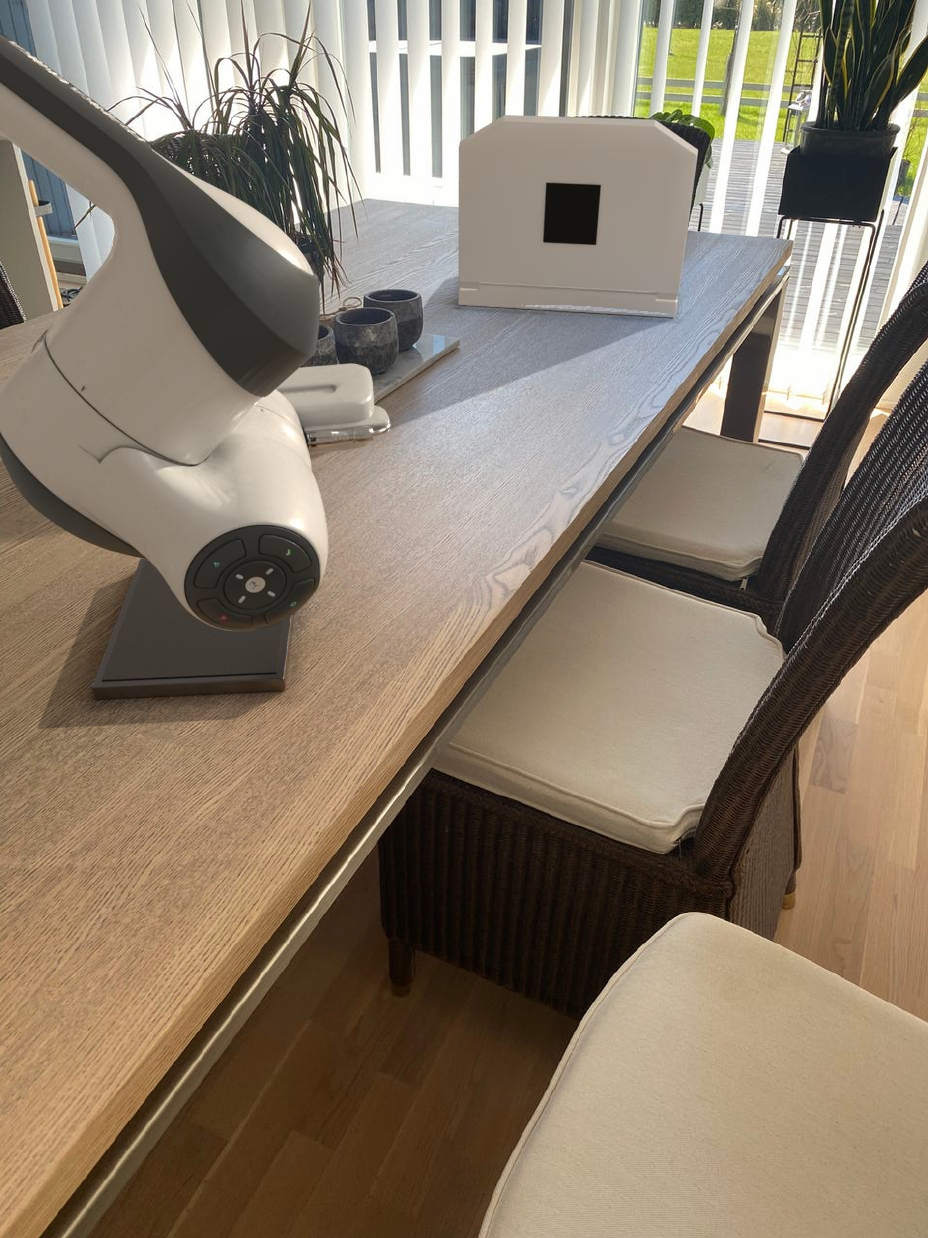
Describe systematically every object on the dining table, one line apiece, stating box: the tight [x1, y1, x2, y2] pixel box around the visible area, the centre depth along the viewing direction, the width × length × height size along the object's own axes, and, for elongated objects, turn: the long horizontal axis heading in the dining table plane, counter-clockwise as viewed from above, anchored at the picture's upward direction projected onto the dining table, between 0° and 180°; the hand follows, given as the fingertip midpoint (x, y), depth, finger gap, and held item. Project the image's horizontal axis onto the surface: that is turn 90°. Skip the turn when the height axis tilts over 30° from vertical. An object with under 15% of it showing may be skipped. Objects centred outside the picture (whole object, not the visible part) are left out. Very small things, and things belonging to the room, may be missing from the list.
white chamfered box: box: [458, 114, 699, 319], centre depth 147 cm, size 33×24×26 cm
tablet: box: [91, 558, 296, 700], centre depth 77 cm, size 14×18×1 cm
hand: (225, 371), depth 71 cm, fingers closed on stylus, 3 cm apart
